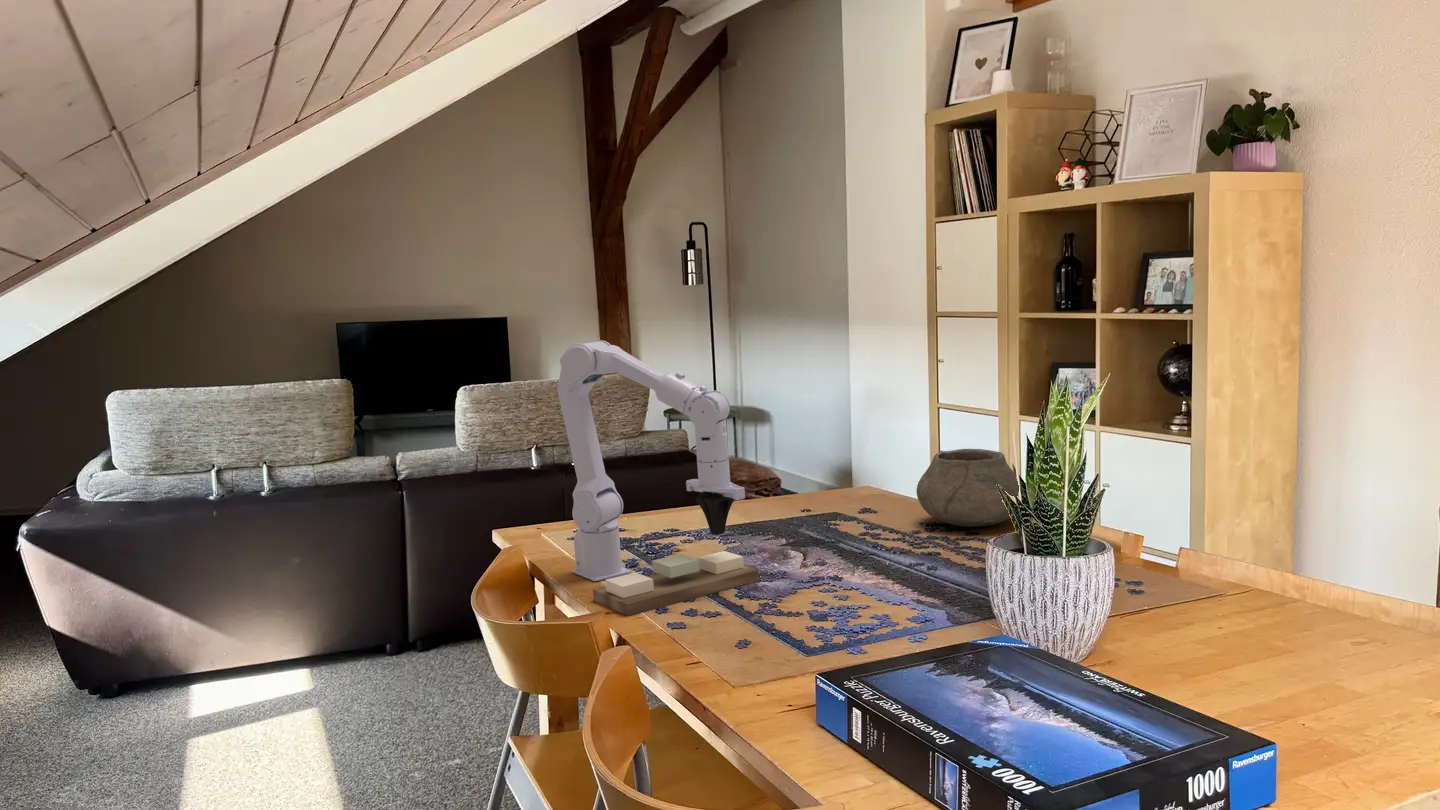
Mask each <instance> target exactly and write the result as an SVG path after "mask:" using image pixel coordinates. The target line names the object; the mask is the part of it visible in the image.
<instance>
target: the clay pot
mask: <svg viewBox="0 0 1440 810" xmlns="http://www.w3.org/2000/svg"><path fill="white" fill-rule="evenodd" d="M1014 473H1015V472H1014V470H1013V469H1012V468H1011V467H1010V465H1009V463H1008V462H1007V460H1006V457H1005V453H1002V452H1000V451H996V450H990V449H983V448H959V449H953V450H945V451H939V452H937V453H936V454H935V455H934V456H933V458H932V460H931V462H930V465H929V466H928V467H927V469H926V470H925V471H924V473H923V474H922V475H921V477H920V479H919V481H918V483H917V486H916V492H915V493H916V496H917V500H918V503H919V505H920V506H921V507H922V509H923V511H925V512H926V513H927V514H928V515H929V516H931V517H932V518H934V519H935V520H939V521H941V522H943V523H946V524H948V525H952V526H957V527H964V528H966V527H967V528H977V527H978V528H979V527H989V526H992V525H993V526H994V525H996V524H1000V523H1002V522H1004V521H1006V520H1008V519H1010V518H1011V517H1010V516H1009V513H1008V510H1007V509H1006V507H1005V505H1004V503H1003V502H1002V498H1001V495H1000V493H999V490H998V488H997V486H996V484H999V485H1000V486H1001V487H1002V489H1003V490H1004V491H1006V492H1007V493H1008V494H1009V495H1011V496H1014V497H1017V496H1018V492H1019V485H1018V481H1017V479H1016V477H1015V475H1014Z"/></svg>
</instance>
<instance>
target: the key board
mask: <svg viewBox="0 0 1440 810" xmlns="http://www.w3.org/2000/svg"><path fill="white" fill-rule="evenodd" d="M759 573H760V572H759V569H757V568H753V567H750V566H746V565H744V567H743V568H739V569H736V570H732V571H728V572H724V573H720V574H714V573H711V572H708V571H705V570H702V569H700V571H698V572H694V573H690V574H686V575H682V576H678V577H674V578H669V577H666V576H663V575H661V574H658V573H653V574H650V575H645V576H646V577H649V578H652V579H653V584H654V591H650V592H646V593H642V594H638V595H634V596H630V597H626V598H621V597H619V596H617V595H614V594H612V593H610V592H607V591H606V585H605V586H601V587H598V588H593V589H592V596H593V601H594V602H595V603H598V604H600V605H603V606H605V607H607V608H609V609H612V610H613V611H616V612H618V613H621V614H623V615H625V616H628V617H629V616H632V615H637V614H641V613H644V612H647V611H648V612H649V611H651V610H655V609H660V608H662V607H667V606H670V605H674V604H678V603H682V602H686V601H689V600H692V599H696V598H700V597H704V596H708V595H712V594H716V593H719V592H723V591H727V590H730V589H734V588H738V587H741V586H745V585H749V584H752V583H755V582H760V577H759V576H760V575H759Z"/></svg>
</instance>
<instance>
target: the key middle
mask: <svg viewBox="0 0 1440 810" xmlns="http://www.w3.org/2000/svg"><path fill="white" fill-rule="evenodd" d="M651 567H652V572H653V573H654V574H661V575H663V576H666V577H669V578H674V577H678V576H682V575H686V574H690V573H694V572H698V571H700V568H699V560H698V559H697V558H694V557H692V556H688V555H686V554H682V553H679V554H675V555H670V556H665V557H662V558H657V559H654V560H651Z"/></svg>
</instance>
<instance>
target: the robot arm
mask: <svg viewBox="0 0 1440 810" xmlns="http://www.w3.org/2000/svg"><path fill="white" fill-rule="evenodd" d="M559 363H560V374H559V378H558V382H557V394H558V395H557V396H558V400H559V404H560V408H561V413H562V416H563V417H562V418H563V422H564V426H565V431H566V434H567V435H566V436H567V440H568V445H569V449H570V453H571V457H572V462H573V463H572V464H573V466H574V471H575V474H576V479H577V480H576V481H577V482H576V485H575V487H574V490H573V491H572V499H573V506H572V513H571V514H572V519H573V522H574V523H575V525H576V526H577V528H578V529H577V531H575V535H574V537H573V545H574V546H573V547H574V558H575V568H574V569H573V568H572V570H571V572H572V573H573V574H576V575H578V576H580V577H583V578H585V579H588V580H590V581H593V582H598V581H602V580H606V579H610V578H614V577H618V576H623V575H627V574H631V573H632V570H631V569H628V568H626V567H624V566H622V565H623V563H622V552H621V541H620V540H621V539H620V527H619V518H620V516H621V515H622V514H623V511H624V500H623V499H622V496H621V495H620V494H619V493H618V491H617V489H616V485H615V482H614V480H613V479H611V477H610V476H609V475H608V474H607V473H606V469H605V468H606V467H605V465H604V460H603V455H602V451H601V447H600V441H599V437H598V433H597V428H596V424H595V420H594V415H593V411H592V406H591V402H590V397H589V393H590V392H591V390H592V389H593V387H594V386H595V384H596V383H597V382H598V381H599V379H601V378H602V377H604V376H605V375H608V374H619V375H621V376H623V377H625V378H626V379H629V380H632V381H633V382H636V383H638V384H640V385H642V386H645V387H647V389H651V390H653V391H654V393H655V396H656V399H657V400H658V401H659V402H662V403H663V404H664V405H666V406H669V407H671V408H673V410H676V411H677V412H680V413H681V414H684V415H685V416H687V417H688V419H689V420H690V422H691V423H692V424H693V426H694V435H695V436H694V437H695V448H696V465H697V478H692V479H688V480H685V486H686V491H687V492H692V491H693V492H699V493H702V494H701V496H697V497H696V499H695V500H696V503H697V504H698V505H699V507H700V508H701V510H702V512H703V515H704V517H705V519H706V522H707V525H708V528H709V531H710V534H711V535H713V536H719V535H724V534H725V531H726V526H727V522H728V521H727V519H728V516H729V512H730V509H731V507H732V505H733V503H734V501H739V500H743V499H745V498H746V491H745V487H744V486H740V485H738V484H735V483H733V482H731V472H730V458H729V454H730V453H729V442H728V440H729V439H728V431H727V429H728V428H727V426H728V425H727V418H729V417H728V416H729V415H730V411H731V404H730V401H729V399H728V398H727V397H726V396H725V395H724V394H723V393H721V391H720V390H711V391H708V387H707V386H705V385H703V384H702V385H698V384H696V383H694V382H692V381H690V380H689V379H687V378H685V377H686V374H685V373H684V372H683V373H682V372H681V371H679V372H676V373H675V372H673V371H670V372H668V373H666V374H663V373H661V372H660V371H659V370H657V369H655V368H653V367H651V366H649V364H647V363H645V362H643V361H641V360H639V359H638V358H636V357H635V356H633V355H631V354H630V353H628V352H626V351H625V350H624V349H622V348H621V347H620V346H618V345H614V344H611V343H609V342H608V341H606V340H602V339H601V340H595V341H591V342H586V343H585V342H584V343H574V344H572V345H570V346H569V347H568V348H567V349H566V350H565V352H564V353H563V354H562V356H561V357H560V359H559Z"/></svg>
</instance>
